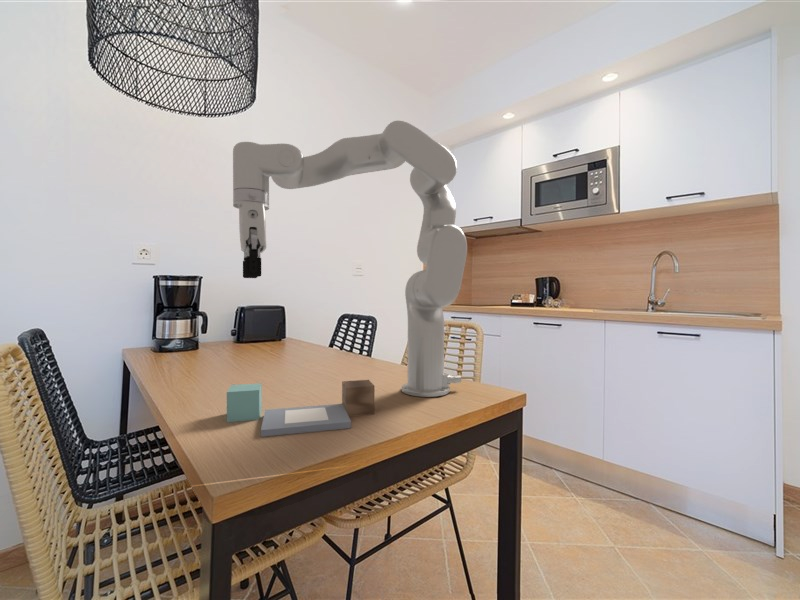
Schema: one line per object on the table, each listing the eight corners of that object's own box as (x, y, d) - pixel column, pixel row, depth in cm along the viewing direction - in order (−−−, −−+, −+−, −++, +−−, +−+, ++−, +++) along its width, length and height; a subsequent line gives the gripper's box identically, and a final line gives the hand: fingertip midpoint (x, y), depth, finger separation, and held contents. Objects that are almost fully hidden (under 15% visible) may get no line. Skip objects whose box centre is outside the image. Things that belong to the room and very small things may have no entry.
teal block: (261, 410, 81) (261, 383, 81) (259, 419, 75) (259, 390, 75) (231, 413, 79) (231, 385, 79) (226, 422, 73) (226, 392, 73)
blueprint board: (342, 409, 82) (342, 403, 82) (351, 427, 70) (351, 421, 70) (265, 415, 77) (265, 409, 77) (260, 436, 66) (260, 429, 66)
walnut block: (368, 406, 84) (368, 379, 84) (374, 414, 79) (374, 386, 79) (342, 408, 83) (342, 381, 83) (345, 416, 77) (346, 387, 77)
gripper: (273, 193, 78) (273, 276, 78) (265, 210, 93) (265, 278, 94) (234, 189, 75) (234, 275, 75) (232, 207, 90) (232, 278, 90)
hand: (251, 277), depth 84 cm, fingers open, 9 cm apart
